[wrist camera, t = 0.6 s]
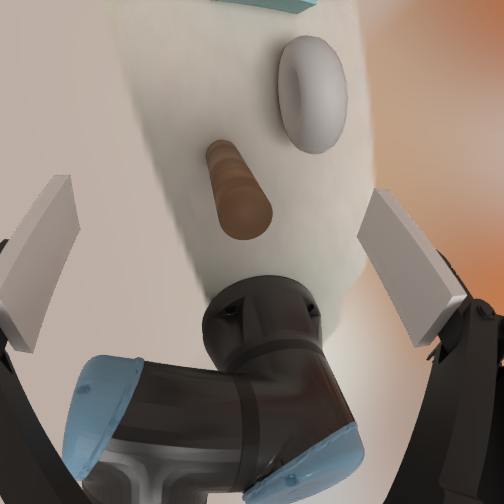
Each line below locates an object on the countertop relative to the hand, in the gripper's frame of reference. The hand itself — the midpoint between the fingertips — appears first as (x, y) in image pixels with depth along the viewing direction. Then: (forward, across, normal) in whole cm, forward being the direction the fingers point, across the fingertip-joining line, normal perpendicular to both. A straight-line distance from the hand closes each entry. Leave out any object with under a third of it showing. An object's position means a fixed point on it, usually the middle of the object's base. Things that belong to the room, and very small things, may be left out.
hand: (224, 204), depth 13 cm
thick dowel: (+17, -1, +5) cm, 18 cm away
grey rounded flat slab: (+19, -7, -2) cm, 20 cm away
